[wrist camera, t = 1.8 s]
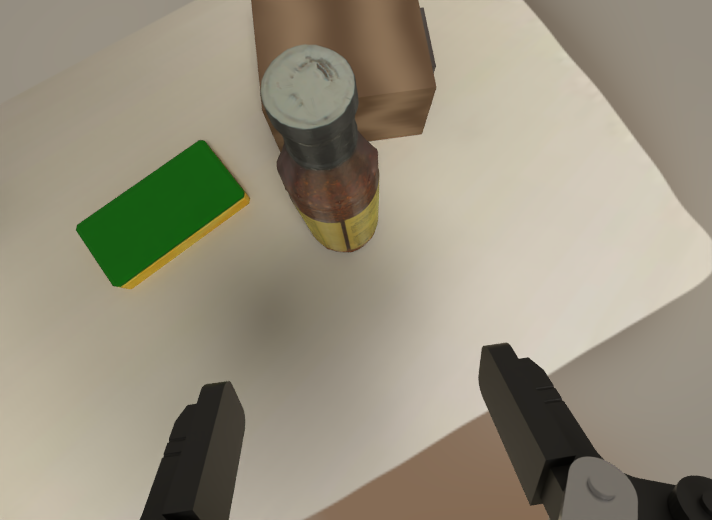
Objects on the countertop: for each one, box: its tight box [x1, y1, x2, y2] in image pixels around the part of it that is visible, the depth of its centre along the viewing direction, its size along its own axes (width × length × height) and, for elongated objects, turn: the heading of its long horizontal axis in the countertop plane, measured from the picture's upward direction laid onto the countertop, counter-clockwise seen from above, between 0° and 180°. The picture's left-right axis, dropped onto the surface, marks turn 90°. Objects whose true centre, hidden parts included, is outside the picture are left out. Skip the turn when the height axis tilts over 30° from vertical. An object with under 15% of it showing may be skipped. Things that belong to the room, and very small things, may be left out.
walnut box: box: [251, 0, 436, 152], centre depth 34 cm, size 15×12×7 cm
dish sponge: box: [76, 140, 250, 289], centre depth 34 cm, size 7×14×2 cm, turn 129°
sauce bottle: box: [260, 44, 379, 252], centre depth 25 cm, size 6×6×20 cm
